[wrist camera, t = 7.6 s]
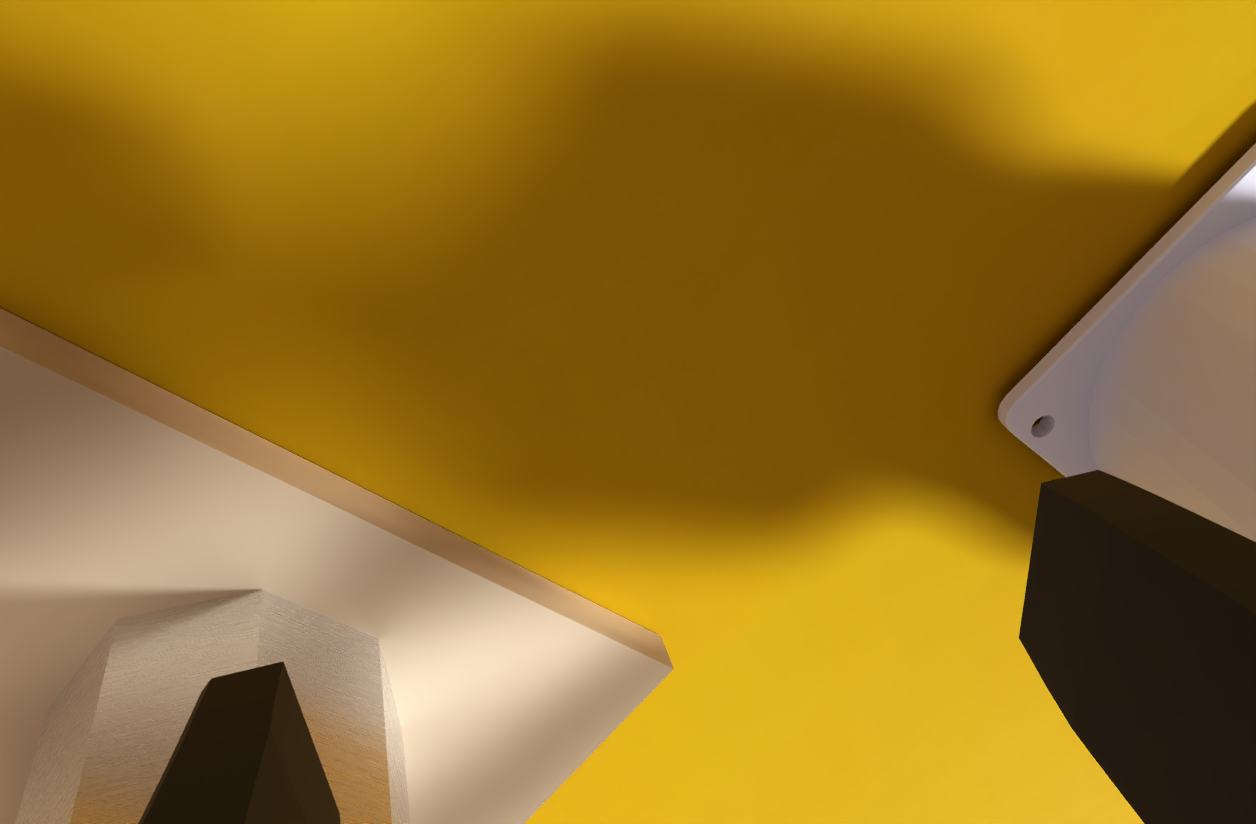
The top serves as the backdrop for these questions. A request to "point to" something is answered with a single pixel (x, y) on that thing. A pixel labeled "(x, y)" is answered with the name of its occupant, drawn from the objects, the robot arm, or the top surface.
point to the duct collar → (170, 686)
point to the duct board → (284, 583)
